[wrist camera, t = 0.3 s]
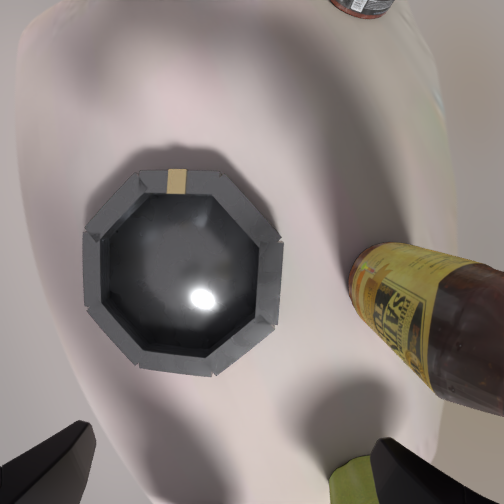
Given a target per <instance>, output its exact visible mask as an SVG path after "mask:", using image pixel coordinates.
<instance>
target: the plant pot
mask: <svg viewBox="0 0 504 504" xmlns="http://www.w3.org/2000/svg"><path fill="white" fill-rule="evenodd" d="M329 489H330V504H379V501H378V498H377V494H376V489H375V484H374V478H373V473H372V468H371V463H370V455H369V456H362V457H358V458H355V459H352V460H350V461H349V462H348V463H347V464H346V465H344V466H342V467H340V468H337V469H336V470H335V471H334V472H333V474H332V475H331V477H330V480H329Z"/></svg>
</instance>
